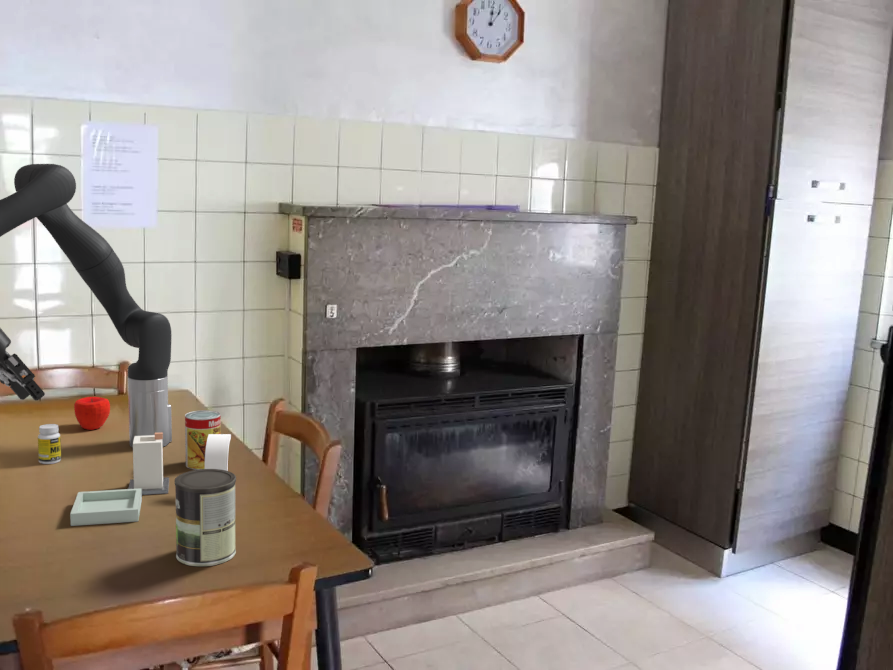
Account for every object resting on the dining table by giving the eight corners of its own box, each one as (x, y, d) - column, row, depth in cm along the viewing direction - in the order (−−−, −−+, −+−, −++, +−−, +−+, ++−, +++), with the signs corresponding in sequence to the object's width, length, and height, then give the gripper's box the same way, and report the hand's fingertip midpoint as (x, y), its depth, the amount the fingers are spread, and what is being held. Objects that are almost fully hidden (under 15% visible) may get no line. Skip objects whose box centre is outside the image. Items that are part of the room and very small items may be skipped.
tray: (78, 503, 174) (78, 492, 174) (141, 499, 177) (141, 488, 177) (70, 525, 163) (70, 513, 162) (138, 521, 166) (138, 509, 166)
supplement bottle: (52, 465, 196) (51, 429, 195) (34, 463, 197) (32, 427, 196) (65, 459, 201) (64, 424, 200) (47, 457, 202) (46, 422, 200)
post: (130, 483, 187) (129, 445, 185) (169, 480, 189) (168, 443, 187) (127, 495, 179) (126, 456, 178) (168, 493, 181) (167, 454, 180)
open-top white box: (135, 480, 186) (134, 430, 184) (164, 479, 187) (163, 429, 185) (134, 489, 180) (132, 438, 179) (163, 488, 182) (162, 436, 180)
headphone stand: (231, 488, 186) (231, 434, 184) (227, 498, 180) (227, 442, 178) (209, 488, 185) (208, 434, 183) (204, 498, 179) (204, 442, 177)
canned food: (220, 469, 198) (220, 418, 196) (185, 470, 196) (184, 419, 194) (220, 458, 205) (220, 409, 203) (186, 460, 203) (185, 410, 201)
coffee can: (169, 567, 147) (168, 488, 144) (182, 542, 157) (181, 468, 155) (231, 567, 148) (230, 488, 145) (240, 542, 158) (240, 468, 155)
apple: (118, 427, 228) (117, 398, 227) (88, 434, 221) (87, 404, 220) (96, 421, 233) (95, 393, 232) (67, 428, 226) (66, 399, 224)
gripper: (6, 321, 166) (61, 386, 172) (-16, 324, 176) (36, 385, 183) (-27, 345, 162) (30, 410, 168) (-48, 347, 172) (6, 408, 179)
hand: (33, 397), depth 176 cm, fingers open, 8 cm apart
